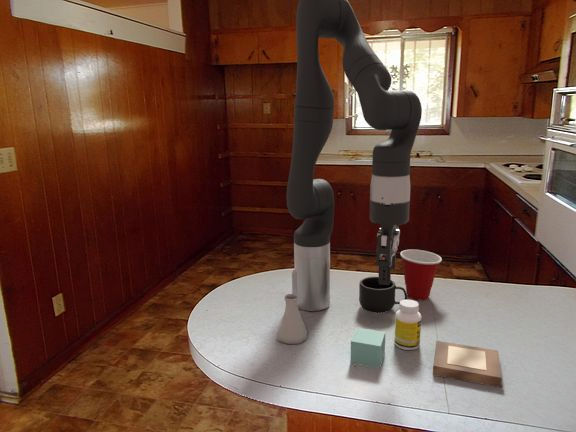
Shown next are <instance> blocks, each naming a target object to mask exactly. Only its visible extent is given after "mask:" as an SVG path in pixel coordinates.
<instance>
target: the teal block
mask: <svg viewBox="0 0 576 432" xmlns="http://www.w3.org/2000/svg"><path fill="white" fill-rule="evenodd" d="M385 351H386V331H382V330H375V329H374V330H373V329H368V328H361V327H356V329H355V332H354V333H353V336H352V338H351V340H350V364H356V365H360V366H361V365H362V366H367V367H371V368H377V369H381V366H382V362H383V360H384V357H385V353H386V352H385Z"/></svg>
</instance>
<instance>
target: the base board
mask: <svg viewBox="0 0 576 432" xmlns="http://www.w3.org/2000/svg"><path fill="white" fill-rule="evenodd" d="M432 376H438V377H442V378H448V379H454V380H457V381H458V380H459V381H464V382H471V383H474V384H475V383H476V384H482V385H487V386H491V387H492V386H493V387H495V388H501V387H502V379H503V375H502V370H501V361H500V355H499V350H497V349H491V348H485V347H478V346H473V345H466V344H460V343H453V342H449V341H448V342H446V341H442V340H441V341H440V340H436V341H435V349H434V357H433V364H432Z"/></svg>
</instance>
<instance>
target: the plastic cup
mask: <svg viewBox="0 0 576 432" xmlns="http://www.w3.org/2000/svg"><path fill="white" fill-rule="evenodd" d="M400 257H401V262H402V266H403V276H404V277H403V278H404V284H405V291H406V293H407V298H409V299H410V300H414V301H426V300H428V299H429V297H430V296H431V290H432V288H433V284H434V280H435V276H436V273H437V270H438V267H439V264H440V263H441V262H442V261H443V259H442V257H441V256H440V255H439V254H436V253H434V252H430V251H428V250H421V249H405V250H402V251H400Z"/></svg>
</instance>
